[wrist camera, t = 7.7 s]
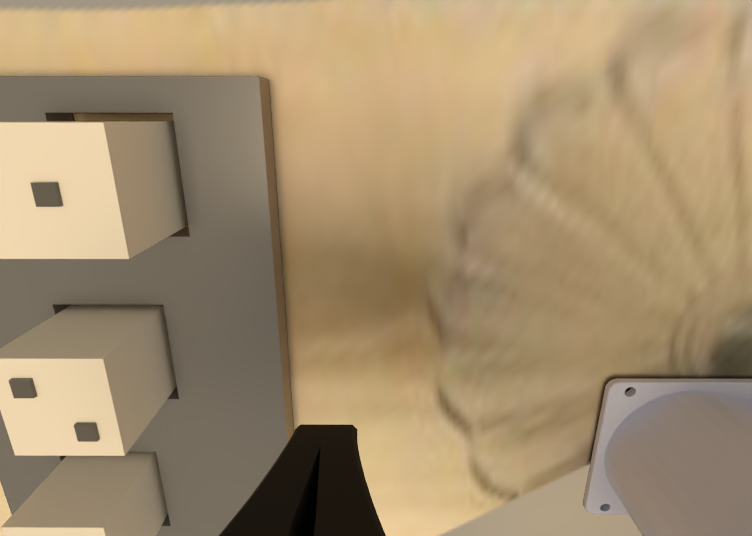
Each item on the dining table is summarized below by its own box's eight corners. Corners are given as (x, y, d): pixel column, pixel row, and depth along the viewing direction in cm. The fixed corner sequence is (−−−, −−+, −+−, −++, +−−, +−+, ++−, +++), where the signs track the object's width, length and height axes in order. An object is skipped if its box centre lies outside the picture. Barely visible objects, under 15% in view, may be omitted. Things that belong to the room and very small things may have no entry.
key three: (162, 439, 22) (100, 531, 17) (174, 501, 23) (120, 603, 18) (82, 439, 22) (-3, 530, 17) (98, 501, 23) (24, 603, 18)
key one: (179, 120, 17) (100, 122, 12) (192, 222, 18) (126, 260, 13) (75, 121, 17) (-45, 122, 12) (96, 222, 18) (-5, 260, 14)
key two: (169, 300, 19) (100, 361, 15) (182, 378, 21) (122, 458, 16) (79, 300, 20) (-21, 361, 15) (97, 378, 21) (11, 458, 16)
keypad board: (268, 79, 17) (258, 76, 15) (300, 518, 24) (295, 544, 23) (-97, 79, 17) (-140, 76, 16) (42, 518, 24) (21, 543, 23)
